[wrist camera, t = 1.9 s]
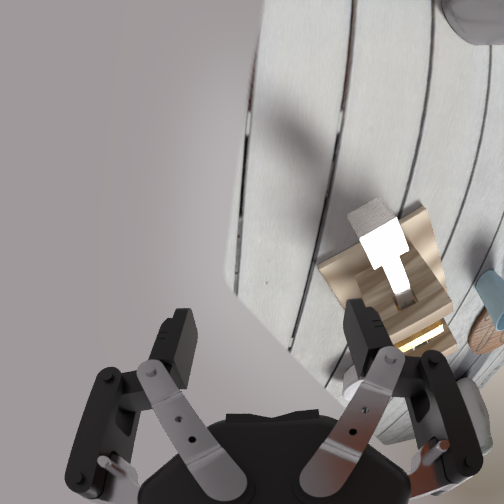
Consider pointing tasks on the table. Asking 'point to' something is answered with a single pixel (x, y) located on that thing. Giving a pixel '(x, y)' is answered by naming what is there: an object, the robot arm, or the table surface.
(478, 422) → the glass bottle
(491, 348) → the trivet
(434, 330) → the spacer ring
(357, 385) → the ramekin
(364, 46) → the table surface
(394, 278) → the shaft
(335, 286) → the bracket
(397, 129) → the table surface
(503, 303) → the cup
